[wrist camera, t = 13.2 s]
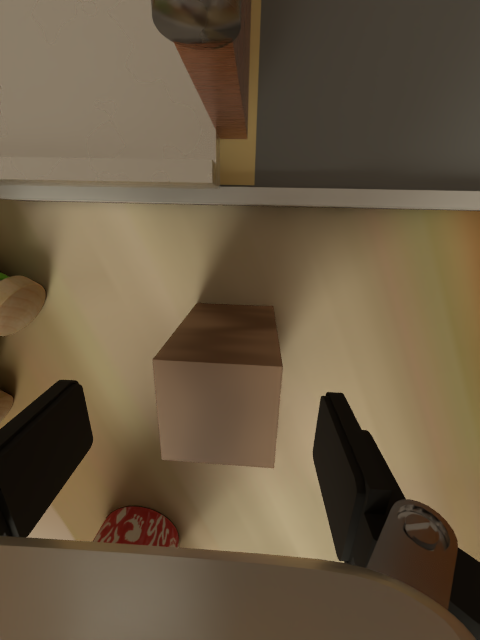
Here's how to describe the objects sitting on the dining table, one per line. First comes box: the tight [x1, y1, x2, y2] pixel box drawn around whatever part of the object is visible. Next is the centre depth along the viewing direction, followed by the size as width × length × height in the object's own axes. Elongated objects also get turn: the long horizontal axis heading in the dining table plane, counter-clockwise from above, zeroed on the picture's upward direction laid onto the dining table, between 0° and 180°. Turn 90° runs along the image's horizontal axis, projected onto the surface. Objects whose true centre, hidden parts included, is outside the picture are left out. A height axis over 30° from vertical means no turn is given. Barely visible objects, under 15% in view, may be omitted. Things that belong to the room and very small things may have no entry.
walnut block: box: [153, 303, 283, 468], centre depth 15 cm, size 5×5×8 cm
